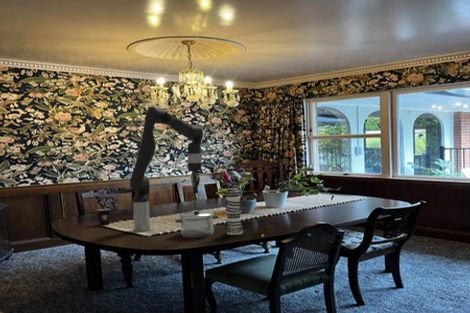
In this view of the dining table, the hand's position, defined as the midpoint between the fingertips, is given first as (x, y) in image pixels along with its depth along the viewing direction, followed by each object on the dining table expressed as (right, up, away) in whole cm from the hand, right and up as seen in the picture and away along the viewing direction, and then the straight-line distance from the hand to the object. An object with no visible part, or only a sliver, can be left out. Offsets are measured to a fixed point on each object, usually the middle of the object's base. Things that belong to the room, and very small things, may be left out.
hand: (195, 193), depth 241 cm
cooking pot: (+1, -23, +4) cm, 24 cm away
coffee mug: (-66, -25, +49) cm, 86 cm away
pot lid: (0, -13, +4) cm, 14 cm away
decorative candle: (+21, -23, +1) cm, 31 cm away
